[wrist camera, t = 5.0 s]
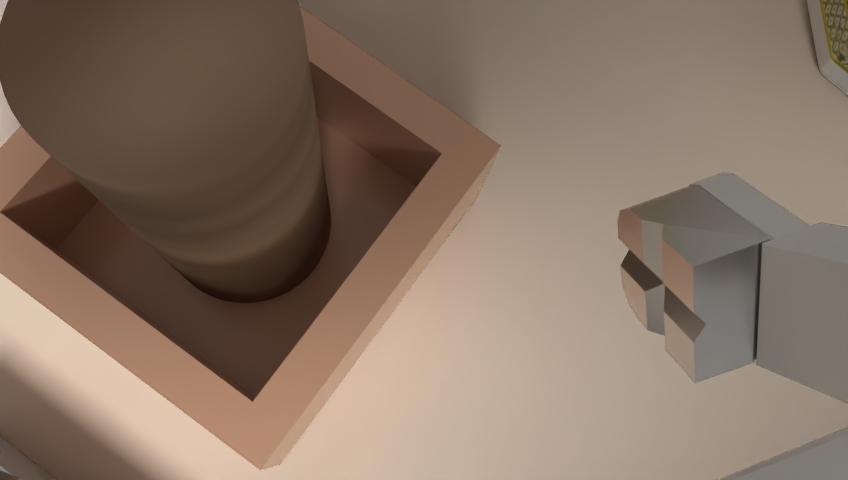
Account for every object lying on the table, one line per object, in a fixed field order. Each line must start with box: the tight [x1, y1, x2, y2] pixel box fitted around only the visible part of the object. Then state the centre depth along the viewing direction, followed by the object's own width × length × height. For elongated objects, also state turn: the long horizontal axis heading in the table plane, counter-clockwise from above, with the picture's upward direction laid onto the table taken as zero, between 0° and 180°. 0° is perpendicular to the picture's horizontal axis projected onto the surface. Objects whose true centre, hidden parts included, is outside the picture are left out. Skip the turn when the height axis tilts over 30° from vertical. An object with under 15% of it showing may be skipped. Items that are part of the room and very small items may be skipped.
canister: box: [0, 0, 331, 303], centre depth 17 cm, size 4×4×10 cm
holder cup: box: [0, 7, 501, 470], centre depth 20 cm, size 9×9×4 cm
